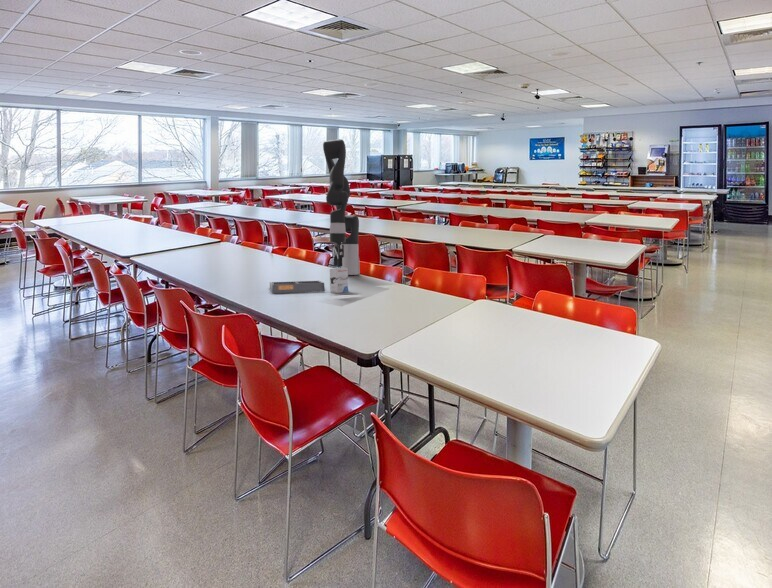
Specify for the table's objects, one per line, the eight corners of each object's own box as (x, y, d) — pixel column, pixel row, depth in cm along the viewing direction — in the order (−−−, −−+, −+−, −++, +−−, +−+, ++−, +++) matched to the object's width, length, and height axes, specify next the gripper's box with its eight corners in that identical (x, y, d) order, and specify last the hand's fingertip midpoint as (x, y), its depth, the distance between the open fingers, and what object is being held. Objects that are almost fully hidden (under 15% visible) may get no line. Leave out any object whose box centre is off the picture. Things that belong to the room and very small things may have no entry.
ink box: (340, 291, 240) (340, 267, 239) (348, 291, 237) (348, 267, 236) (329, 292, 233) (329, 268, 232) (337, 293, 230) (336, 268, 229)
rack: (318, 289, 249) (318, 280, 249) (324, 291, 236) (324, 282, 236) (269, 290, 241) (269, 282, 240) (272, 293, 228) (272, 284, 228)
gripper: (348, 232, 226) (349, 266, 228) (341, 233, 240) (342, 265, 241) (333, 232, 224) (333, 266, 225) (327, 233, 237) (327, 265, 239)
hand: (338, 266), depth 233 cm, fingers open, 8 cm apart
